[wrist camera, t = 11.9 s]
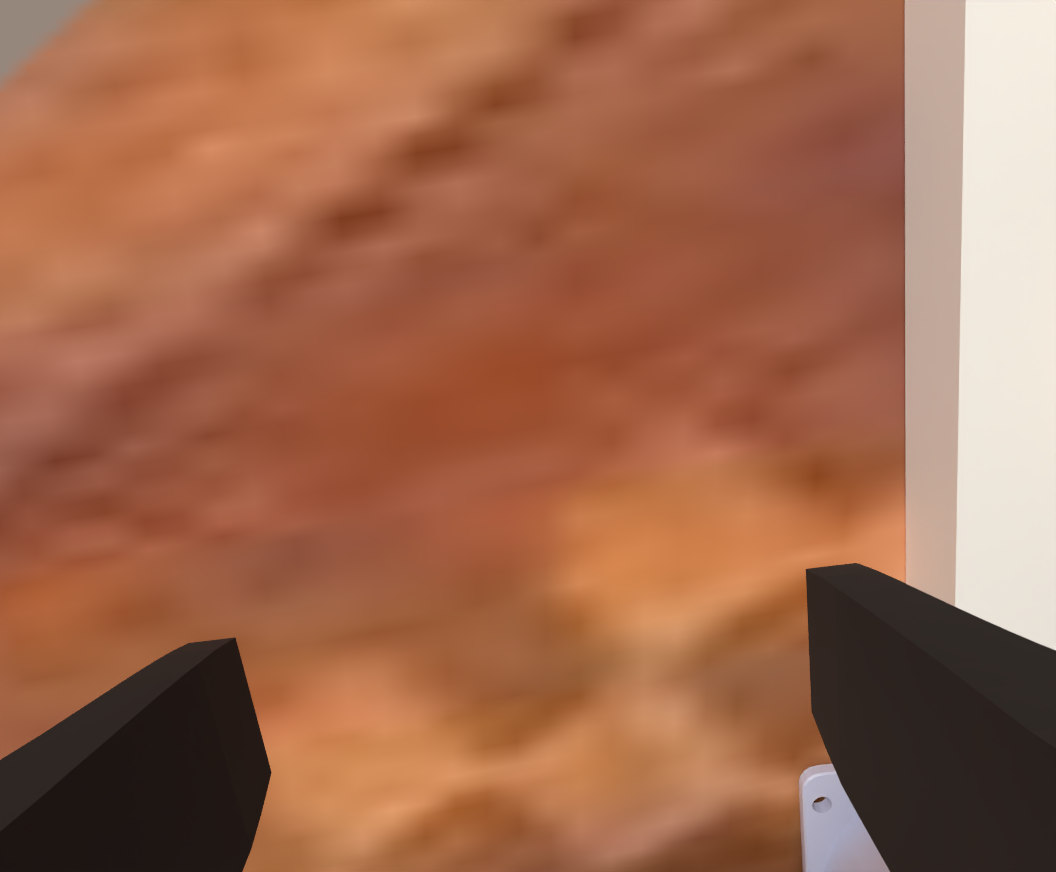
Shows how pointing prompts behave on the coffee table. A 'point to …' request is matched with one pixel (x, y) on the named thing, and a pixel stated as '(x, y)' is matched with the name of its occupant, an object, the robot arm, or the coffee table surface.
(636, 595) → the coffee table surface
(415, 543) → the coffee table surface
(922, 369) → the dock
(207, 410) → the coffee table surface
